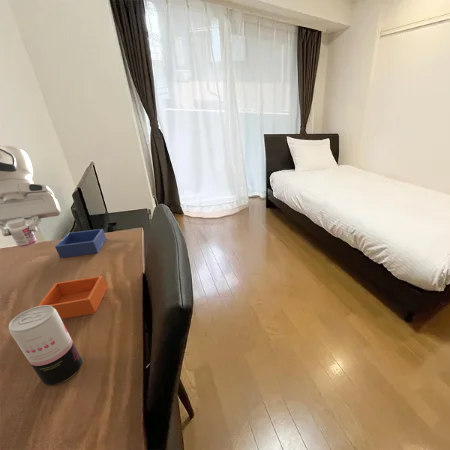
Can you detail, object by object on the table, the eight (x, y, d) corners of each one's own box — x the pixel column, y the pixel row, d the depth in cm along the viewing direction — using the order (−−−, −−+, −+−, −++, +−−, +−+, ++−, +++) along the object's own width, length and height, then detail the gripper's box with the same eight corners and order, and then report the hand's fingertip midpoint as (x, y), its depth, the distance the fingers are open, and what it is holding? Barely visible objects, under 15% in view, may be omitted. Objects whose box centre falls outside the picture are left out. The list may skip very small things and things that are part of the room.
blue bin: (60, 258, 93) (54, 246, 91) (72, 243, 102) (67, 232, 100) (97, 252, 96) (93, 241, 94) (106, 239, 105) (102, 228, 103)
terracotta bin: (43, 322, 67) (35, 308, 65) (61, 296, 76) (55, 282, 74) (95, 312, 70) (89, 299, 68) (107, 288, 79) (102, 275, 77)
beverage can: (49, 363, 57) (17, 310, 51) (86, 353, 60) (60, 300, 53) (37, 391, 52) (-1, 336, 45) (78, 379, 54) (47, 324, 48)
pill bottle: (34, 246, 86) (21, 222, 82) (15, 249, 84) (1, 225, 80) (40, 239, 90) (28, 216, 86) (22, 242, 88) (9, 218, 84)
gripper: (-37, 194, 80) (-35, 237, 77) (52, 184, 89) (57, 222, 86) (-23, 203, 85) (-20, 244, 82) (60, 193, 95) (65, 229, 91)
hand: (20, 233), depth 84 cm, fingers closed on pill bottle, 5 cm apart
